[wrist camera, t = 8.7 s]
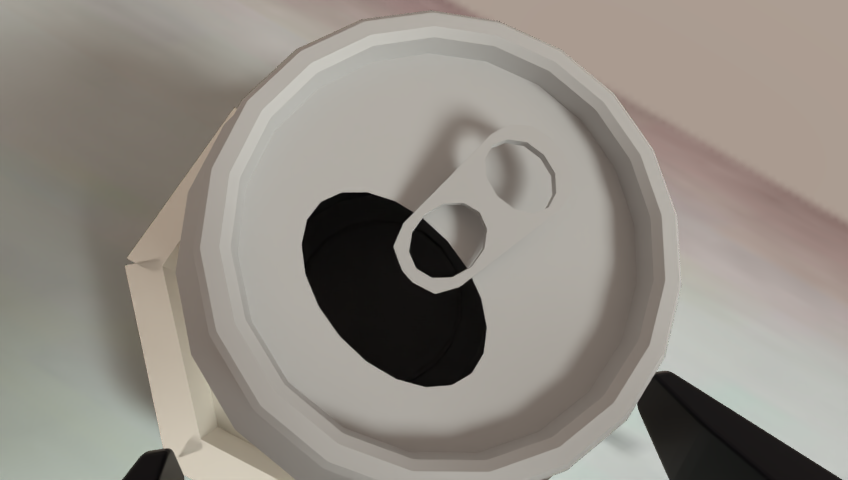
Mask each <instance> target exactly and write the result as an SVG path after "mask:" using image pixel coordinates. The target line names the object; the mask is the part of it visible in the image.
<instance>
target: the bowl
mask: <svg viewBox="0 0 848 480" xmlns="http://www.w3.org/2000/svg"><path fill="white" fill-rule="evenodd" d="M236 110H237V108H235V107H234V109H233V110H232V111H231V113H230V114H229V116H228V117H227V118H226V120H225V121H224V123H223V124H222V125H221V127H220V128H219V130H218V131H217V132H216V134H215V135H214V137H213V138H212V139H211V141H210V142H209V144H208V145H207V146H206V148H205V149H204V151H203V152H202V153H201V155H200V156H199V158H198V159H197V160H196V162H195V163H194V165H193V166H192V167H191V169H190V170H189V172H188V173H187V174H186V176H185V177H184V179H183V180H182V181H181V183H180V184H179V186H178V187H177V188H176V190H175V191H174V193H173V194H172V195H171V197H170V198H169V200H168V201H167V202H166V204H165V205H164V207H163V208H162V209H161V211H160V212H159V214H158V215H157V216H156V218H155V219H154V221H153V222H152V223H151V225H150V226H149V228H148V229H147V230H146V232H145V233H144V235H143V236H142V237H141V239H140V240H139V241H138V243H137V244H136V246H135V247H134V248H133V250H132V251H131V253H130V254H129V255H128V257H127V259H129V260H131V261H132V262H134V264H130V265H126V266H125V270H126V274H127V279H128V284H129V288H130V293H131V298H132V303H133V307H134V312H135V317H136V322H137V326H138V331H139V336H140V341H141V345H142V350H143V355H144V359H145V364H146V369H147V374H148V378H149V383H150V388H151V393H152V397H153V402H154V407H155V411H156V416H157V421H158V426H159V430H160V435H161V440H162V445H163V449H165V448H170V449H171V450H173V452H174V454H175V456H176V458H177V461H178V463H179V465H180V468H181V470H182V472H183V475H185V476H187V477H189V478H191V479H193V480H295V479H294V478H293V477H292V476H290V475H289V474H288V473H287V472H286V471H284V470H283V469H282V468H281V467H280V466H278V465H277V464H276V463H275V462H274V461H272V460H271V459H270V458H269V457H268V456H266V455H265V454H264V453H263V452H262V451H260V450H259V449H258V448H257V447H255V446H254V445H253V444H252V443H251V442H249V441H248V440H247V439H246V438H245V437H243V436H242V435H241V434H240V433H239V432H237V431H236V430H235V429H234V427H233V425H232V424H231V422H230V420H229V419H228V417H227V415H226V413H225V412H224V410H223V408H222V407H221V405H220V403H219V402H218V400H217V398H216V396H215V395H214V393H213V391H212V390H211V388H210V386H209V385H208V383H207V381H206V379H205V378H204V376H203V374H202V373H201V371H200V369H199V367H198V366H197V364H196V362H195V361H194V359H193V357H192V356H191V352H190V346H189V341H188V336H187V331H186V325H185V320H184V315H183V309H182V304H181V299H180V293H179V288H178V283H177V277H176V266H177V259H178V253H179V246H180V240H181V234H182V227H183V221H184V215H185V208H186V202H187V195H188V191H189V189H190V187H191V186H192V184H193V182H194V180H195V178H196V176H197V174H198V172H199V171H200V169H201V167H202V165H203V163H204V161H205V159H206V157H207V156H208V154H209V152H210V150H211V148H212V146H213V144H214V143H215V141H216V139H217V137H218V135H219V133H220V131H221V129H222V128H223V126H224V124H225V123H226V122H227V121H228V120H229V119H230V118H231V117H232V116H233V115H234V114H235V112H236Z"/></svg>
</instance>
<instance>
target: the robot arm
mask: <svg viewBox="0 0 848 480" xmlns="http://www.w3.org/2000/svg"><path fill="white" fill-rule="evenodd" d="M637 405H638V410H639V412H640V415H641V417H642V419H643V422H644V424H645V426H646V428H647V431H648V433H649V435H650V437H651V440H652V442H653V444H654V446H655V449H656V451H657V453H658V455H659V458H660V460H661V462H662V465H663V467H664V469H665V471H666V473H667V476H668V478H669V480H842V479H840V478H839V477H837V476H836V475H834V474H832V473H831V472H829V471H828V470H826V469H824V468H823V467H821V466H820V465H818V464H817V463H815V462H813V461H812V460H810V459H809V458H807V457H805V456H804V455H802V454H801V453H799V452H798V451H796V450H794V449H793V448H791V447H790V446H788V445H786V444H785V443H783V442H782V441H780V440H778V439H777V438H775V437H774V436H772V435H771V434H769V433H767V432H766V431H764V430H763V429H761V428H759V427H758V426H756V425H755V424H753V423H752V422H750V421H748V420H747V419H745V418H744V417H742V416H740V415H739V414H737V413H736V412H734V411H732V410H731V409H729V408H728V407H726V406H725V405H723V404H721V403H720V402H718V401H717V400H715V399H713V398H712V397H710V396H709V395H707V394H706V393H704V392H702V391H701V390H699V389H698V388H696V387H694V386H693V385H691V384H690V383H688V382H687V381H685V380H683V379H682V378H680V377H679V376H677V375H675V374H674V373H672V372H669V371H660V372H656V373H655V374H654V376H653V378H652V379H651V381H650V383H649V384H648V386H647V387H646V389H645V391H644V392H643V394H642V396H641V397H640V399H639V401H638V402H637ZM122 480H184V475H183V472H182V470H181V468H180V465H179V463H178V461H177V458H176V456H175V454H174V452H173V450H171V449H170V448H165V449H158V450H152V451H148V452H145V453H144V454H143V455H142V456H141V457H140V458H139V459H138V460H137V462H136V463H135V464H134V465H133V467H132V468H131V469H130V470H129V472H128V473H127V474H126V476H125V477H124V478H123V479H122Z"/></svg>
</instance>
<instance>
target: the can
mask: <svg viewBox="0 0 848 480" xmlns="http://www.w3.org/2000/svg"><path fill="white" fill-rule="evenodd" d="M176 277H177V283H178V288H179V293H180V299H181V304H182V309H183V315H184V320H185V325H186V331H187V336H188V341H189V346H190V352H191V356H192V357H193V359H194V361H195V362H196V364H197V366H198V367H199V369H200V371H201V373H202V374H203V376H204V378H205V379H206V381H207V383H208V385H209V386H210V388H211V390H212V391H213V393H214V395H215V396H216V398H217V400H218V402H219V403H220V405H221V407H222V408H223V410H224V412H225V413H226V415H227V417H228V419H229V420H230V422H231V424H232V425H233V427H234V429H235V430H236V431H237V432H239V433H240V434H241V435H242V436H243V437H245V438H246V439H247V440H248V441H249V442H251V443H252V444H253V445H254V446H255V447H257V448H258V449H259V450H260V451H262V452H263V453H264V454H265V455H266V456H268V457H269V458H270V459H271V460H272V461H274V462H275V463H276V464H277V465H278V466H280V467H281V468H282V469H283V470H284V471H286V472H287V473H288V474H289V475H290V476H292V477H293V478H294V479H295V480H548V479H549V478H551V477H552V476H553V475H556V474H558V473H561V472H564V471H567V470H568V469H569V468H570V467H572V466H573V465H574V464H575V463H576V462H578V461H579V460H580V459H581V458H582V457H584V456H585V455H586V454H587V453H588V452H590V451H591V450H592V449H593V448H594V447H596V446H597V445H598V444H599V443H600V442H602V441H603V440H604V439H605V438H606V437H607V436H609V435H610V434H611V433H612V432H613V431H615V430H616V429H617V428H618V427H619V426H621V425H622V424H623V423H624V422H625V421H627V419H628V417H629V416H630V414H631V412H632V411H633V409H634V407H635V406H636V404H637V402H638V401H639V399H640V397H641V396H642V394H643V392H644V391H645V389H646V387H647V386H648V384H649V383H650V381H651V379H652V378H653V376H654V374H655V373H656V371H657V369H658V368H659V366H660V364H661V363H662V361H663V359H664V358H665V355H666V351H667V346H668V342H669V338H670V334H671V329H672V325H673V321H674V317H675V312H676V308H677V304H678V299H679V295H680V291H681V287H682V285H681V270H680V254H679V238H678V223H677V214H676V211H675V209H674V206H673V203H672V200H671V197H670V195H669V192H668V189H667V186H666V183H665V181H664V178H663V175H662V172H661V169H660V167H659V164H658V161H657V158H656V155H655V153H654V150H653V148H652V147H651V146H650V144H649V143H648V141H647V140H646V139H645V137H644V136H643V134H642V133H641V131H640V130H639V129H638V127H637V126H636V124H635V123H634V121H633V120H632V119H631V117H630V116H629V114H628V113H627V111H626V110H625V109H624V107H623V106H622V104H621V103H620V101H619V100H618V99H617V97H616V96H615V94H614V93H613V92H611V91H610V90H609V89H608V88H607V87H605V86H604V85H603V84H602V83H601V82H600V81H598V80H597V79H596V78H595V77H594V76H592V75H591V74H590V73H589V72H588V71H586V70H585V69H584V68H583V67H582V66H580V65H579V64H578V63H577V62H576V61H574V60H573V59H572V58H571V57H570V56H568V55H567V54H566V53H565V52H564V51H562V50H561V49H559V48H556V47H554V46H552V45H550V44H548V43H546V42H544V41H541V40H539V39H537V38H535V37H533V36H530V35H528V34H526V33H524V32H522V31H520V30H517V29H515V28H513V27H511V26H509V25H506V24H504V23H502V22H500V21H495V20H489V19H483V18H476V17H470V16H463V15H457V14H451V13H444V12H438V11H432V10H430V11H422V12H414V13H407V14H399V15H391V16H384V17H376V18H368V19H361V20H359V21H357V22H355V23H353V24H350V25H348V26H346V27H344V28H342V29H340V30H337V31H335V32H333V33H331V34H329V35H326V36H324V37H322V38H320V39H318V40H316V41H313V42H311V43H309V44H307V45H305V46H303V47H300V48H298V49H296V50H295V51H294V52H293V53H292V54H291V55H290V56H289V57H288V58H286V59H285V60H284V61H283V62H282V63H281V64H280V65H279V66H278V67H277V68H276V69H275V70H274V71H273V72H271V73H270V74H269V75H268V76H267V77H266V78H265V79H264V80H263V81H262V82H261V83H260V84H259V85H258V86H256V87H255V88H254V89H253V90H252V91H251V92H250V93H249V94H248V95H247V96H246V97H245V98H244V99H242V100H241V102H240V104H239V106H238V108H237V110H236V112H235V114H234V115H233V116H232V117H231V118H230V119H229V120H228V121H227V122H226V123H225V124H224V126H223V128H222V129H221V131H220V133H219V135H218V137H217V139H216V141H215V143H214V144H213V146H212V148H211V150H210V152H209V154H208V156H207V157H206V159H205V161H204V163H203V165H202V167H201V169H200V171H199V172H198V174H197V176H196V178H195V180H194V182H193V184H192V186H191V187H190V189H189V191H188V195H187V202H186V208H185V215H184V221H183V227H182V234H181V240H180V246H179V253H178V259H177V266H176Z"/></svg>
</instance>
